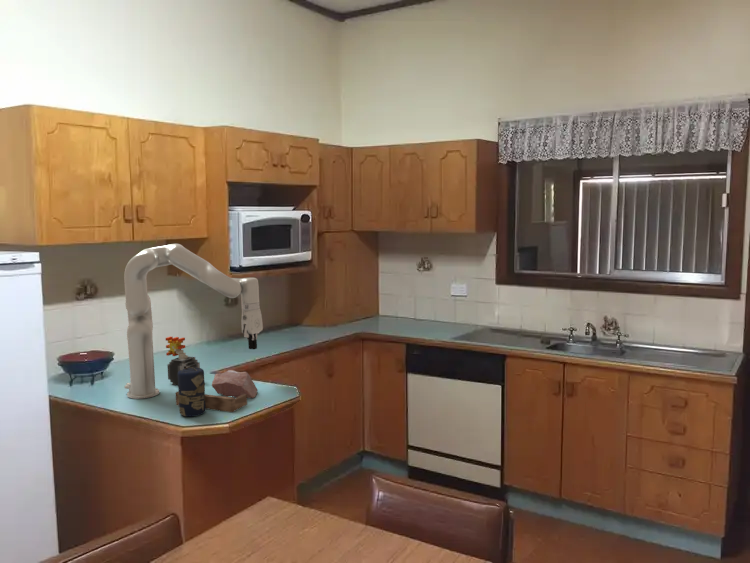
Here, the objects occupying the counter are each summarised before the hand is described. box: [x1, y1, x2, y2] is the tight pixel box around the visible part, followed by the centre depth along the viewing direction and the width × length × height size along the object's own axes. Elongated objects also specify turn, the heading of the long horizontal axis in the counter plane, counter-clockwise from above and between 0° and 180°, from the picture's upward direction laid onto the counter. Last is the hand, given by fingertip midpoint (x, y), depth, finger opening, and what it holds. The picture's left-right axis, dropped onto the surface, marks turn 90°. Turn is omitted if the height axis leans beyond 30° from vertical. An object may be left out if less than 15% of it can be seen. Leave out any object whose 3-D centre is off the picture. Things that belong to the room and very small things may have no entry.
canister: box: [177, 367, 207, 417], centre depth 245 cm, size 10×10×18 cm
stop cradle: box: [175, 391, 248, 413], centre depth 257 cm, size 26×10×5 cm, turn 68°
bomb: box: [165, 336, 201, 386], centre depth 287 cm, size 8×13×20 cm, turn 67°
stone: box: [211, 369, 258, 399], centre depth 271 cm, size 8×20×13 cm
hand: (252, 348), depth 283 cm, fingers closed
